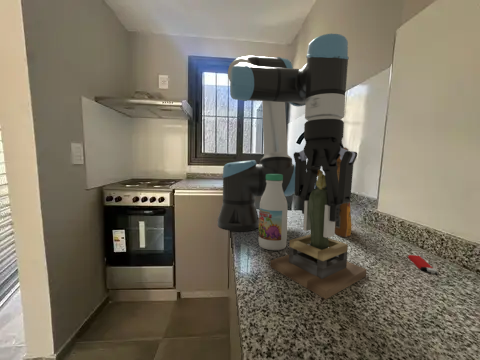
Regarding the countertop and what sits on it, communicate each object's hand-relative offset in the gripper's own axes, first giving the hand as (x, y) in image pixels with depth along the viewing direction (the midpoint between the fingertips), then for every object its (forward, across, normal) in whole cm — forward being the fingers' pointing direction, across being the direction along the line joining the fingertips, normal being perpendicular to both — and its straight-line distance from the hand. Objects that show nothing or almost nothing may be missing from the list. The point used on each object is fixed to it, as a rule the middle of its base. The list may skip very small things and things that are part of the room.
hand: (318, 232), depth 48 cm
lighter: (+9, +12, +23) cm, 28 cm away
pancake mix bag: (+9, -14, +31) cm, 35 cm away
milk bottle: (+9, -16, +2) cm, 18 cm away
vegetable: (+7, 0, 0) cm, 7 cm away
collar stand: (+9, 0, 0) cm, 9 cm away
